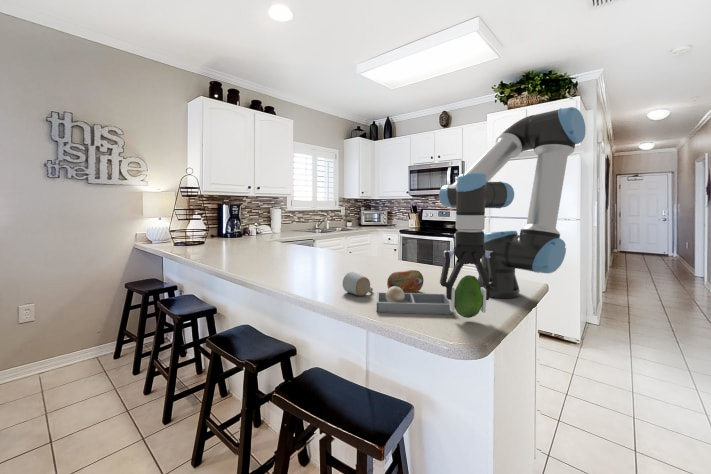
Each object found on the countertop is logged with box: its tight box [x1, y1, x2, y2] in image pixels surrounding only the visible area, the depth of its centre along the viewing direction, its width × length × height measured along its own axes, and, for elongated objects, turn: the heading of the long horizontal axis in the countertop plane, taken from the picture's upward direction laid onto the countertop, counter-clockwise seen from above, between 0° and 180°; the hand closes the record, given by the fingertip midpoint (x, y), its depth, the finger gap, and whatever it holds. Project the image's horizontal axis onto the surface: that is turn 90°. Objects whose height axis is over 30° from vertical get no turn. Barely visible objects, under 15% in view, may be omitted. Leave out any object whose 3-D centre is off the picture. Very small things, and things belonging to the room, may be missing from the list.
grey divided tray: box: [376, 291, 453, 315], centre depth 105 cm, size 23×12×3 cm, turn 86°
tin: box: [386, 269, 424, 293], centre depth 121 cm, size 15×3×8 cm, turn 117°
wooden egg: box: [385, 286, 405, 303], centre depth 105 cm, size 6×6×6 cm
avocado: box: [454, 274, 482, 319], centre depth 92 cm, size 8×8×12 cm
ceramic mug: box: [342, 271, 374, 297], centre depth 120 cm, size 11×8×8 cm
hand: (467, 310), depth 93 cm, fingers closed on avocado, 8 cm apart
